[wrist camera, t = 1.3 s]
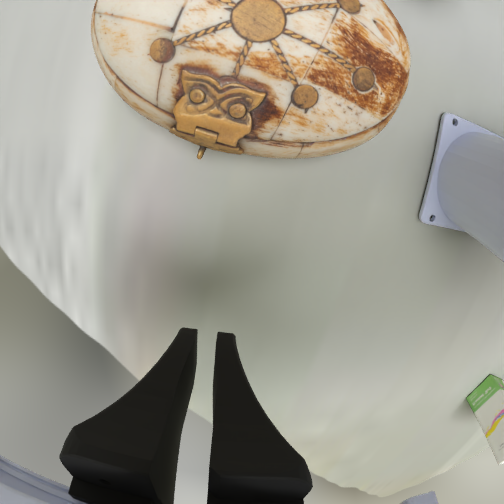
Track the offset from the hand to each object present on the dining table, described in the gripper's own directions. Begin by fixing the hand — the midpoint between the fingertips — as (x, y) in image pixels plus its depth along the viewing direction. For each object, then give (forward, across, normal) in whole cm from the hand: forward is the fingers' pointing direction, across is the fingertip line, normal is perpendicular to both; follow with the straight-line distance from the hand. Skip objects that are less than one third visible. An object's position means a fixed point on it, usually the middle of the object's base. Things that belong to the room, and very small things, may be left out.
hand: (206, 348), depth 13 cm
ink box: (+10, -37, +17) cm, 42 cm away
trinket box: (+10, 0, -13) cm, 16 cm away
